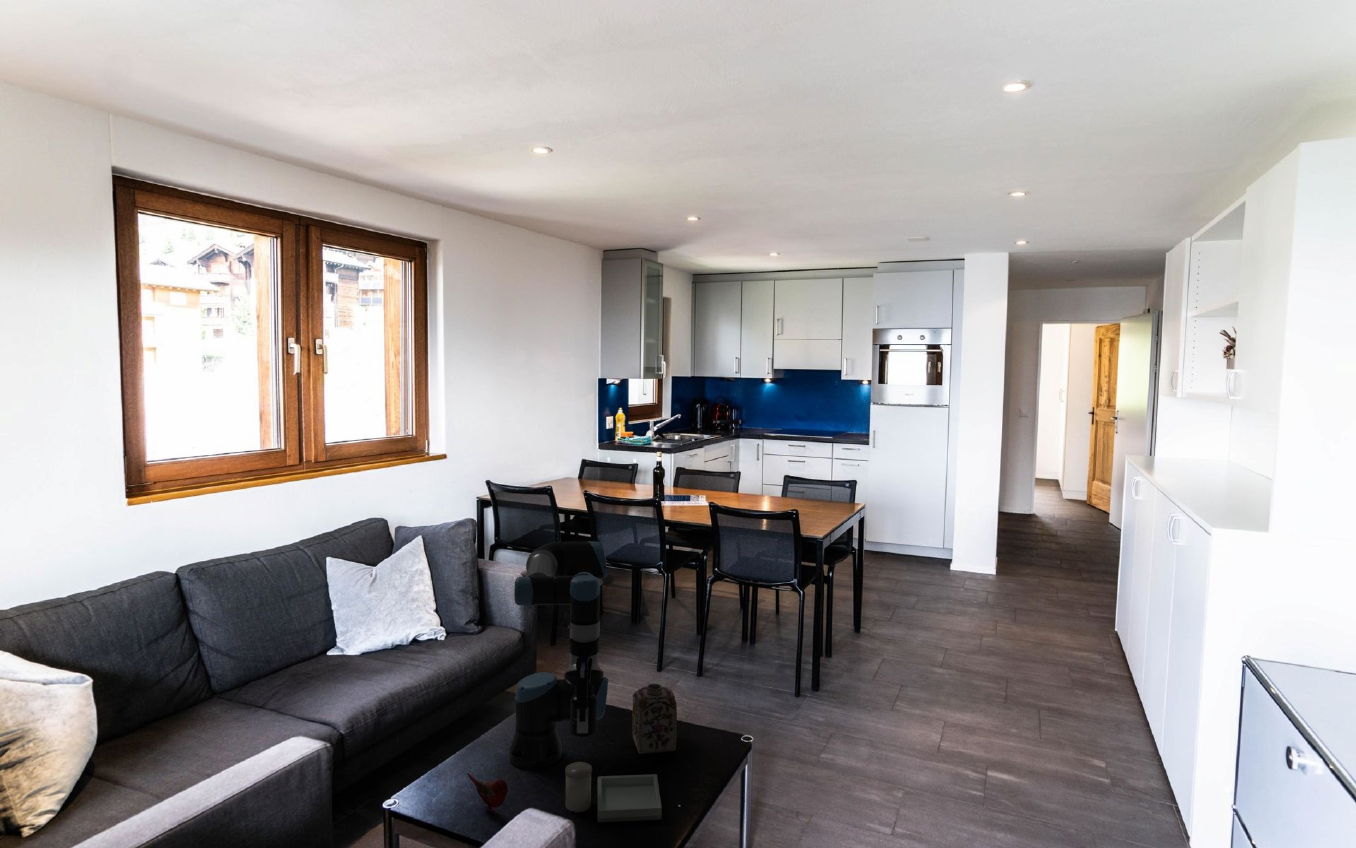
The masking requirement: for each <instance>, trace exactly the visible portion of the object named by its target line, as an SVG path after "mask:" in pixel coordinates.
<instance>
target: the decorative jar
mask: <svg viewBox="0 0 1356 848" xmlns="http://www.w3.org/2000/svg"><path fill="white" fill-rule="evenodd" d="M675 696H676V695H675V693H674V692H673V689H670V688H668V687H665V686H662V685H661V684H659V683H650V684H648V685H646V686H644V687H641V688H639V689H637V690H636V691H634V692H633V695H632V712H631V713H632V714H631V715H632V716H631V717H632V718H631V720H632V721H631V723H632V725H631V726H632V727H631V733H632V739H633V741H634V744H635V747H636V750H637V752H638V754H639V755H645V754H646V755H647V754H655V753H656V754H657V753H665V752H666V753H667V751H668V752H674V751H676V749H677V734H678V733H677V729H678V727H677V726H678V725H677V723H678V722H677V721H678V719H677V718H678V705H677V700H676V697H675Z"/></svg>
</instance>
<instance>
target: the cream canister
mask: <svg viewBox="0 0 1356 848" xmlns="http://www.w3.org/2000/svg"><path fill="white" fill-rule="evenodd" d="M564 770H565V772H564V773H565V809H566V808H567V809H568V810H567V809H566V810H567V811H569V810H570V811H569V812H571V811H574V812H573V813H583V812H585V811H588V810H589V809H590V808H591V806H592V803H591V802H592V773H593V772H592V771H593V768H592V765H591V764H590V763H588V762H583V761H575V762H572V763H569V764H568V765H567V766H566V767H565V769H564Z"/></svg>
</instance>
